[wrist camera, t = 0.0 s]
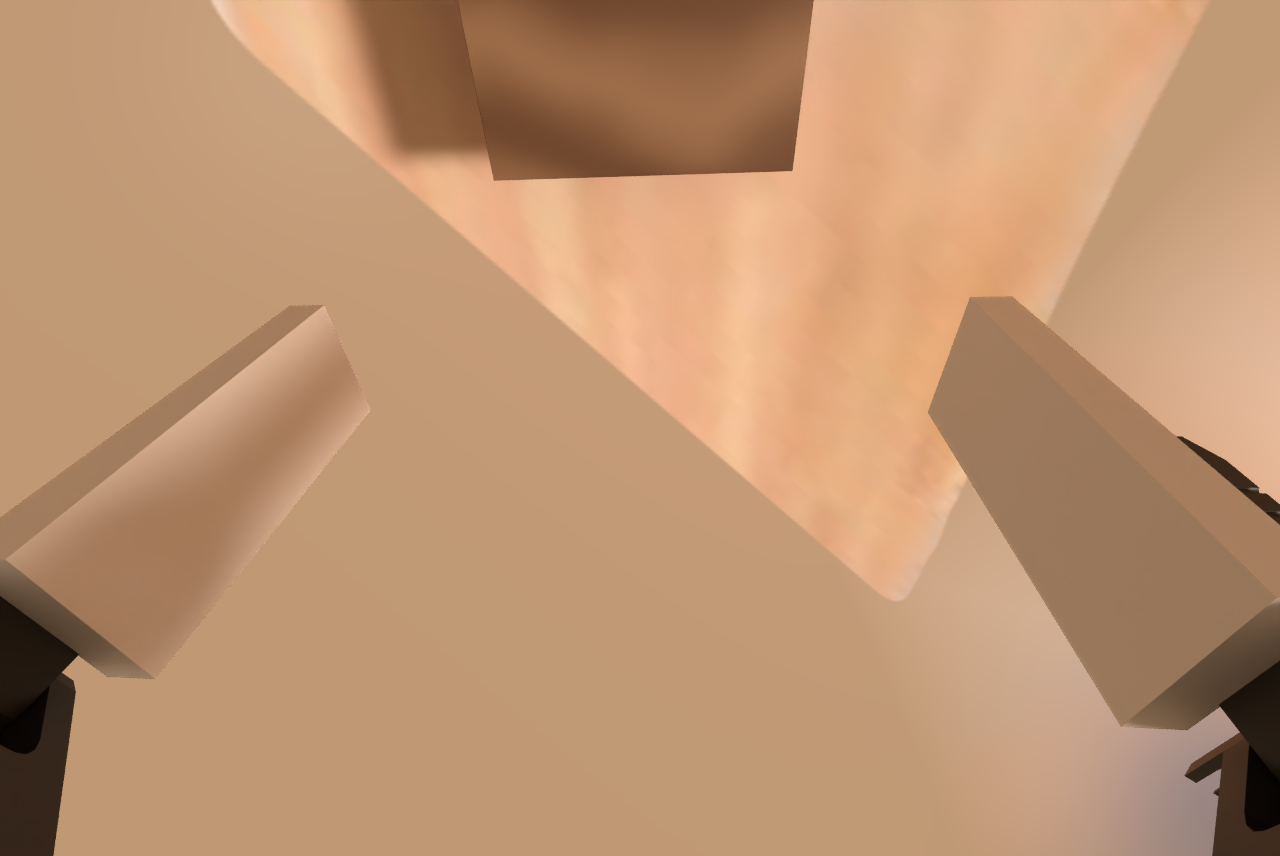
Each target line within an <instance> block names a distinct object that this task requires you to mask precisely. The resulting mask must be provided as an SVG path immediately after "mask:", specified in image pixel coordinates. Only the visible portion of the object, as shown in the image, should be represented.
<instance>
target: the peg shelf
mask: <svg viewBox="0 0 1280 856" xmlns="http://www.w3.org/2000/svg"><path fill="white" fill-rule="evenodd" d="M813 1H814V0H458V4H459V9H460V14H461V19H462V24H463V29H464V34H465V39H466V44H467V49H468V54H469V59H470V64H471V69H472V74H473V79H474V84H475V89H476V94H477V99H478V104H479V109H480V114H481V119H482V124H483V129H484V134H485V139H486V144H487V149H488V154H489V159H490V163H491V168H492V173H493V178H494V181H495V180H526V179H557V178H588V177H619V176H650V175H682V174H713V173H744V172H775V171H792V170H793V162H794V153H795V145H796V137H797V129H798V121H799V113H800V105H801V97H802V89H803V81H804V73H805V65H806V57H807V49H808V41H809V33H810V25H811V17H812V9H813Z"/></svg>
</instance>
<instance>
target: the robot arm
mask: <svg viewBox="0 0 1280 856" xmlns="http://www.w3.org/2000/svg"><path fill="white" fill-rule="evenodd" d="M369 412H370V407H369V405H368V403H367V401H366V398H365V396H364V394H363V392H362V389H361V387H360V385H359V383H358V381H357V378H356V376H355V374H354V371H353V369H352V367H351V365H350V363H349V360H348V358H347V356H346V354H345V352H344V349H343V347H342V345H341V343H340V340H339V338H338V336H337V334H336V331H335V329H334V327H333V325H332V322H331V320H330V318H329V316H328V314H327V311H326V309H325V307H324V305H312V306H311V305H309V306H289V307H288V308H286V309H285V310H283V311H282V312H281V313H279V314H278V315H277V316H275V317H274V318H272V319H271V320H270V321H268V322H267V323H266V324H264V325H263V326H261V327H260V328H259V329H257V330H256V331H255V332H253V333H252V334H251V335H249V336H248V337H247V338H245V339H244V340H242V341H241V342H240V343H239V344H237V345H235V346H234V347H233V348H231V349H230V350H229V351H227V352H226V353H225V354H223V355H222V356H220V357H219V358H218V359H216V360H215V361H214V362H212V363H211V364H209V365H208V366H207V367H205V368H204V369H203V370H201V371H200V372H199V373H197V374H196V375H194V376H193V377H192V378H190V379H189V380H188V381H186V382H185V383H183V384H182V385H181V386H179V387H178V388H177V389H175V390H174V391H173V392H172V393H170V394H169V395H167V396H166V397H164V398H163V399H162V400H160V401H159V402H158V403H156V404H155V405H153V406H152V407H151V408H149V409H148V410H146V411H145V412H144V413H142V414H141V415H140V416H138V417H137V418H136V419H134V420H133V421H131V422H130V423H129V424H127V425H126V426H125V427H123V428H122V429H120V430H119V431H118V432H116V433H115V434H114V435H112V436H111V437H110V438H108V439H107V440H105V441H104V442H103V443H102V444H100V445H99V446H97V447H96V448H95V449H93V450H92V451H90V452H89V453H88V454H86V455H85V456H84V457H82V458H81V459H79V460H78V461H77V462H75V463H74V464H73V465H71V466H70V467H68V468H67V469H66V470H64V471H63V472H62V473H60V474H59V475H58V476H56V477H55V478H53V479H52V480H51V481H49V482H48V483H47V484H45V485H44V486H43V487H41V488H40V489H39V490H37V491H36V492H34V493H33V494H32V495H30V496H29V497H28V498H26V499H25V500H23V501H22V502H21V503H19V504H18V505H16V506H15V507H14V508H12V509H11V510H10V511H8V512H7V513H5V514H4V515H3V516H2V517H0V856H53V854H54V847H55V839H56V832H57V825H58V818H59V810H60V802H61V796H62V787H63V781H64V774H65V766H66V759H67V751H68V745H69V737H70V730H71V723H72V715H73V707H74V701H75V693H76V691H75V686H74V681H73V680H72V679H70V678H69V677H67V676H66V675H64V674H63V673H62V671H64V669H65V668H66V667H67V666H68V665H69V664H70V663H71V662H72V661H73V660H74V659H75V658H76V657H77V656H78V655H79V656H80V657H81V658H83V659H84V660H85V661H87V662H88V663H89V664H91V665H92V666H93V667H95V668H96V669H98V670H99V671H100V672H102V673H103V674H104V675H106V676H107V677H123V678H143V679H156V678H157V677H158V675H159V674H160V673H161V672H162V670H163V669H164V668H165V667H166V665H167V664H168V663H169V662H170V660H171V659H172V658H173V657H174V655H175V654H176V653H177V652H178V650H179V649H180V648H181V647H182V645H183V644H184V643H185V642H186V640H187V639H188V638H189V637H190V635H191V634H192V633H193V632H194V630H195V629H196V628H197V627H198V625H199V624H200V623H201V622H202V620H203V619H204V618H205V616H206V615H207V614H208V613H209V612H210V610H211V609H212V608H213V607H214V605H215V604H216V603H217V602H218V600H219V599H220V598H221V597H222V595H223V594H224V593H225V592H226V590H227V589H228V588H229V587H230V585H231V584H232V583H233V582H234V580H235V579H236V578H237V577H238V575H239V574H240V573H241V572H242V570H243V569H244V568H245V567H246V565H247V564H248V563H249V562H250V560H251V559H252V558H253V557H254V555H255V554H256V553H257V551H258V550H259V549H260V548H261V547H262V545H263V544H264V543H265V542H266V540H267V539H268V538H269V536H270V535H271V534H272V533H273V532H274V530H275V529H276V528H277V527H278V525H279V524H280V523H281V522H282V520H283V519H284V518H285V517H286V515H287V514H288V513H289V512H290V510H291V509H292V508H293V507H294V505H295V504H296V503H297V502H298V500H299V499H300V498H301V497H302V495H303V494H304V493H305V491H306V490H307V489H308V488H309V487H310V485H311V484H312V483H313V482H314V480H315V479H316V478H317V477H318V475H319V474H320V473H321V472H322V470H323V469H324V468H325V467H326V465H327V464H328V463H329V462H330V460H331V459H332V458H333V457H334V455H335V454H336V453H337V452H338V450H339V449H340V448H341V447H342V445H343V444H344V443H345V442H346V440H347V439H348V438H349V436H350V435H351V434H352V433H353V432H354V430H355V429H356V428H357V427H358V425H359V424H360V423H361V422H362V420H363V419H364V418H365V417H366V415H367V414H368V413H369ZM928 413H929V415H930V417H931V418H932V420H933V421H934V423H935V425H936V426H937V428H938V430H939V431H940V433H941V434H942V436H943V438H944V439H945V441H946V443H947V444H948V446H949V448H950V449H951V451H952V452H953V454H954V456H955V457H956V459H957V461H958V462H959V464H960V465H961V467H962V469H963V470H964V472H965V474H966V475H967V477H968V478H969V480H970V482H971V483H972V485H973V487H974V488H975V490H976V491H977V493H978V494H979V496H980V498H981V500H982V501H983V503H984V504H985V506H986V508H987V509H988V511H989V513H990V514H991V516H992V517H993V519H994V521H995V522H996V524H997V526H998V527H999V529H1000V530H1001V532H1002V533H1003V535H1004V537H1005V538H1006V540H1007V542H1008V543H1009V545H1010V547H1011V548H1012V550H1013V552H1014V553H1015V555H1016V556H1017V558H1018V560H1019V561H1020V563H1021V565H1022V566H1023V567H1024V570H1025V571H1026V573H1027V574H1028V576H1029V578H1030V579H1031V581H1032V583H1033V584H1034V586H1035V587H1036V589H1037V591H1038V592H1039V594H1040V595H1041V597H1042V599H1043V600H1044V602H1045V604H1046V605H1047V607H1048V609H1049V610H1050V612H1051V613H1052V615H1053V617H1054V618H1055V620H1056V621H1057V623H1058V625H1059V626H1060V628H1061V630H1062V631H1063V633H1064V635H1065V636H1066V638H1067V639H1068V641H1069V643H1070V644H1071V646H1072V648H1073V649H1074V651H1075V652H1076V654H1077V656H1078V657H1079V659H1080V661H1081V662H1082V664H1083V665H1084V667H1085V669H1086V670H1087V672H1088V674H1089V675H1090V677H1091V678H1092V680H1093V681H1094V683H1095V685H1096V687H1097V688H1098V690H1099V691H1100V693H1101V695H1102V696H1103V698H1104V700H1105V701H1106V703H1107V705H1108V706H1109V708H1110V709H1111V711H1112V713H1113V714H1114V716H1115V717H1116V719H1117V721H1118V722H1119V724H1120V726H1121V727H1134V728H1155V729H1175V730H1176V729H1177V730H1188V729H1189V728H1191V727H1192V726H1194V725H1195V724H1197V723H1198V722H1199V721H1201V720H1202V719H1203V718H1205V717H1206V716H1208V715H1209V714H1210V713H1212V712H1213V711H1215V710H1216V709H1217V708H1219V707H1221V708H1222V710H1223V711H1224V712H1225V713H1226V714H1227V716H1228V717H1229V719H1230V720H1231V721H1232V722H1233V724H1234V725H1235V726H1236V727H1237V729H1238V730H1239V731H1240V733H1238V734H1237V735H1235V736H1234V737H1232V738H1230V739H1229V740H1228V741H1226V742H1224V743H1223V744H1221V745H1220V746H1218V747H1217V748H1215V749H1214V750H1212V751H1210V752H1209V753H1207V754H1206V755H1204V756H1203V757H1201V758H1200V759H1198V760H1196V761H1195V762H1193V763H1192V764H1191V765H1190V767H1189V769H1188V771H1187V772H1186V774H1185V776H1186V777H1187V778H1189V779H1191V780H1192V781H1194V782H1196V783H1197V782H1198V781H1200V780H1202V779H1204V778H1205V777H1207V776H1208V775H1210V774H1212V773H1213V772H1215V771H1217V770H1218V769H1221V779H1220V788H1218V789H1217V790H1215V791H1214V794H1216V795H1217V796H1219V798H1218V807H1217V817H1216V826H1215V836H1214V845H1213V855H1212V856H1280V504H1278V503H1277V502H1276V501H1275V500H1274V499H1272V498H1271V497H1270V496H1269V495H1267V494H1262V493H1259V487H1258V486H1257V485H1255V484H1254V483H1253V482H1251V481H1250V480H1249V479H1248V478H1247V477H1246V476H1244V475H1243V474H1242V473H1241V472H1239V471H1238V470H1237V469H1236V468H1235V467H1233V466H1232V465H1231V464H1230V463H1228V462H1227V461H1226V460H1224V459H1223V458H1221V457H1219V456H1217V455H1215V454H1213V453H1211V452H1210V451H1208V450H1206V449H1204V448H1202V447H1200V446H1198V445H1197V444H1194V443H1193V442H1191V441H1189V440H1187V439H1185V438H1184V437H1179V436H1177V437H1176V436H1175V435H1174V434H1173V433H1171V432H1170V431H1169V430H1168V429H1167V428H1166V427H1164V426H1163V425H1162V424H1161V423H1159V422H1158V421H1157V420H1156V419H1155V418H1154V417H1152V416H1151V415H1150V414H1149V413H1148V412H1147V411H1146V410H1144V409H1143V408H1142V407H1141V406H1140V405H1139V404H1137V403H1136V402H1135V401H1134V400H1133V399H1131V398H1130V397H1129V396H1128V395H1127V394H1126V393H1125V392H1123V391H1122V390H1121V389H1120V388H1119V387H1117V386H1116V385H1115V384H1114V383H1113V382H1112V381H1110V380H1109V379H1108V378H1107V377H1106V376H1105V375H1103V374H1102V373H1101V372H1100V371H1099V370H1097V369H1096V368H1095V367H1094V366H1093V365H1092V364H1090V363H1089V362H1088V361H1087V360H1086V359H1085V358H1084V357H1082V356H1081V355H1080V354H1079V353H1078V352H1077V351H1075V350H1074V349H1073V348H1072V347H1071V346H1069V345H1068V344H1067V343H1066V342H1065V341H1063V340H1062V339H1061V338H1060V337H1059V336H1058V335H1057V334H1055V333H1054V332H1053V331H1052V330H1051V329H1050V328H1048V327H1047V326H1046V325H1045V324H1044V323H1043V322H1041V321H1040V320H1039V319H1038V318H1037V317H1036V316H1034V315H1033V314H1032V313H1031V312H1030V311H1028V310H1027V309H1026V308H1025V307H1024V306H1023V305H1021V304H1020V303H1019V302H1018V301H1017V300H1016V299H1014V298H1013V297H970V299H969V302H968V304H967V307H966V310H965V313H964V315H963V318H962V321H961V324H960V326H959V329H958V332H957V334H956V337H955V340H954V343H953V345H952V348H951V351H950V354H949V356H948V359H947V362H946V364H945V367H944V370H943V373H942V375H941V378H940V381H939V384H938V386H937V389H936V392H935V394H934V397H933V400H932V403H931V405H930V408H929V411H928Z"/></svg>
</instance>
